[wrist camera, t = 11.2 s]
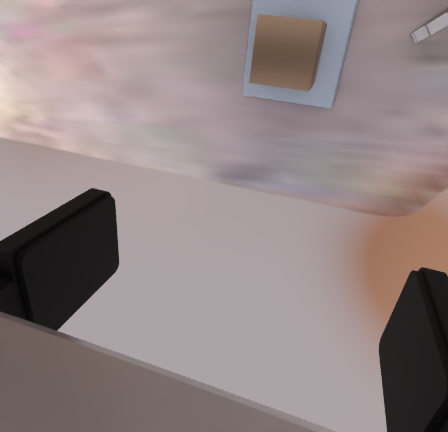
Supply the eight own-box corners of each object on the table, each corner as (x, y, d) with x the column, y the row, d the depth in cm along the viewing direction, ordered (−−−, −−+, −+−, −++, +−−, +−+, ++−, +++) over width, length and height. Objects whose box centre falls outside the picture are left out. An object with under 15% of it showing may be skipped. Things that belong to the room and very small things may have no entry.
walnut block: (271, 18, 31) (257, 14, 26) (327, 23, 30) (323, 20, 25) (263, 76, 34) (249, 82, 29) (314, 83, 33) (308, 91, 28)
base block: (258, -8, 33) (251, -12, 31) (358, 0, 31) (359, -3, 29) (246, 92, 38) (239, 96, 35) (333, 105, 36) (332, 110, 33)
